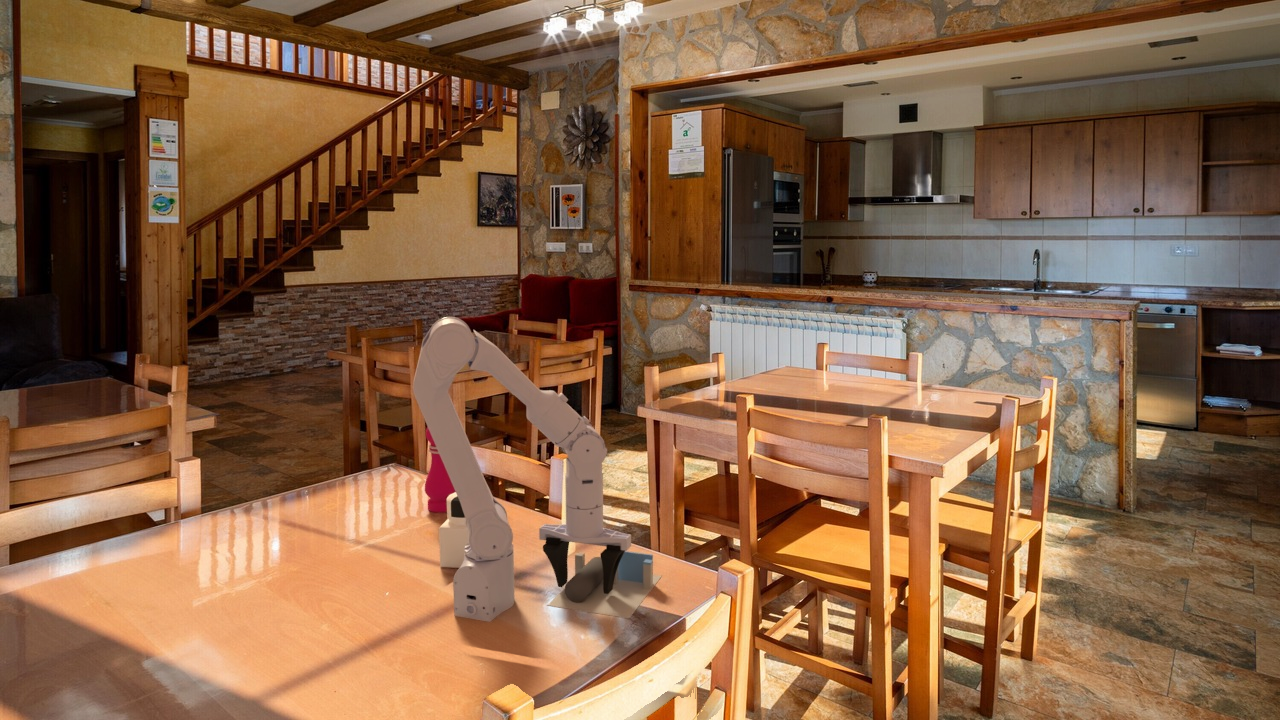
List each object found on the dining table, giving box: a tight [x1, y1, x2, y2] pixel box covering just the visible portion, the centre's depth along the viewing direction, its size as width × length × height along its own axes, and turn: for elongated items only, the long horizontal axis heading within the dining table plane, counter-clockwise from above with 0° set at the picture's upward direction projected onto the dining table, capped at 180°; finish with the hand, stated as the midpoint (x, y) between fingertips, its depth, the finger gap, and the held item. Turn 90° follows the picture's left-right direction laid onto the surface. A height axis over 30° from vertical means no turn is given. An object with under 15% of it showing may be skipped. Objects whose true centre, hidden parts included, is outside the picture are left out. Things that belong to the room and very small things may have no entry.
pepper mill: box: [424, 426, 456, 514], centre depth 169 cm, size 7×7×20 cm
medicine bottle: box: [438, 492, 469, 569], centre depth 142 cm, size 7×7×12 cm
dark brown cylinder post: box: [564, 556, 603, 603], centre depth 129 cm, size 10×4×4 cm, turn 161°
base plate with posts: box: [546, 550, 663, 619], centre depth 128 cm, size 16×13×6 cm
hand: (585, 587), depth 128 cm, fingers open, 7 cm apart
